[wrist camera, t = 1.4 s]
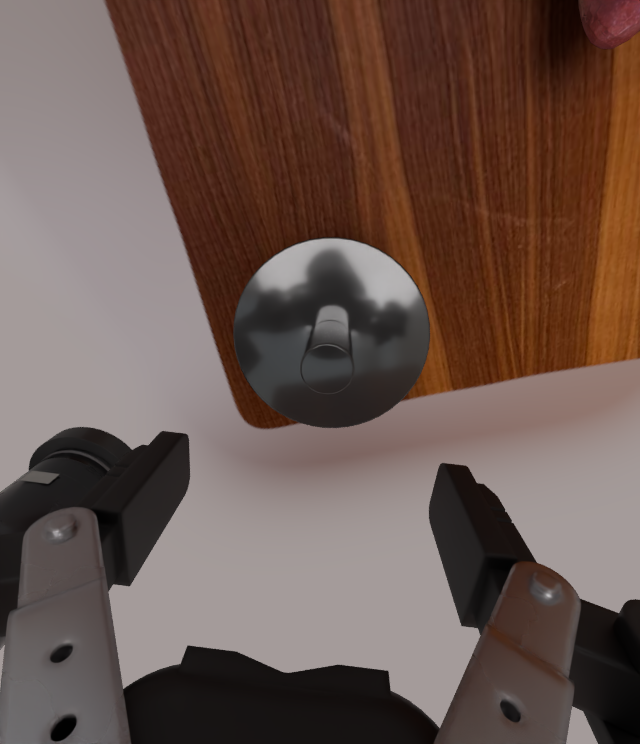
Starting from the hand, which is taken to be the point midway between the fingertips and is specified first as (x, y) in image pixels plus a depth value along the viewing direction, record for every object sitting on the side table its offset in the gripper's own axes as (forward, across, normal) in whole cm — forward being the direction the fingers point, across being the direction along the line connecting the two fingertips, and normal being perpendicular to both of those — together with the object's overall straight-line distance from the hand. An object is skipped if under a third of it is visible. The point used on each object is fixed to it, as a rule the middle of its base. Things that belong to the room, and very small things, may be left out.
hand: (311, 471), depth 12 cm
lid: (+10, 0, +2) cm, 10 cm away
